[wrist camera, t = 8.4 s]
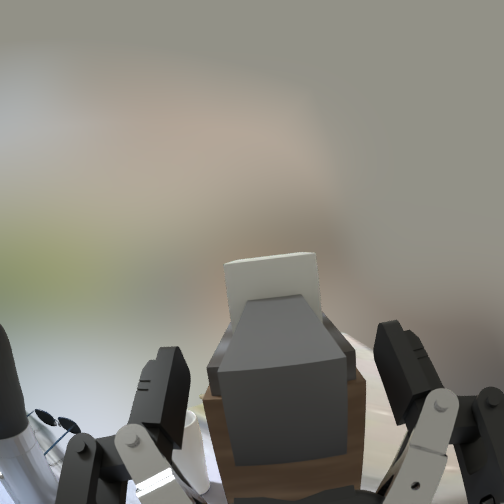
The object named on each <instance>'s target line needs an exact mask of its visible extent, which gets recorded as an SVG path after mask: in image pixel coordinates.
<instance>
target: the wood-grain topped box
mask: <svg viewBox="0 0 504 504" xmlns="http://www.w3.org/2000/svg"><path fill="white" fill-rule="evenodd" d="M322 320H323V325H324V326H325V328H326V329H327V330H328V332H329V333H330V335H331V336H332V337H333V339H334V340H335V342H336V343H337V344H338V346H339V347H340V349H341V350H342V351H343V353H344V354H345V356H346V358H347V394H348V430H347V454H344V455H339V456H334V457H328V458H322V459H315V460H308V461H301V462H293V463H283V464H272V465H258V466H235V462H234V457H233V452H232V448H231V443H230V438H229V433H228V428H227V423H226V418H225V413H224V407H223V402H222V397H221V391H220V385H219V380H218V374H217V371H218V369H219V367H220V364H221V362H222V359H223V357H224V355H225V352H226V350H227V348H228V345H229V343H230V341H231V338H232V336H233V333H232V326H231V322H230V324H229V326H228V328H227V330H226V332H225V334H224V335H223V337H222V339H221V341H220V343H219V345H218V347H217V349H216V351H215V353H214V354H213V356H212V358H211V360H210V362H209V364H208V366H207V373H208V379H209V386H208V389H207V391H206V393H205V395H204V397H203V405H204V410H205V414H206V419H207V423H208V428H209V432H210V436H211V441H212V445H213V449H214V453H215V457H216V461H217V465H218V469H219V473H220V476H221V480H222V484H223V487H224V491H225V495H226V498H227V502H228V504H231V503H234V498H250V497H267V498H274V499H281V500H289V501H296V500H300V499H302V498H305V497H308V496H311V495H313V494H316V493H319V492H321V491H324V490H328V489H334V488H339V487H344V486H349V485H354V489H359V490H360V486H361V476H362V465H363V452H364V436H365V412H366V380H365V379H364V378H363V376H362V375H361V373H360V372H359V371H358V369H357V368H356V353H355V349H354V348H353V347H352V346H351V344H350V343H349V342H348V341H347V340H346V339H345V337H344V336H343V335H342V334H341V333H340V332H339V330H338V329H337V328H336V327H335V326H334V325H333V323H332V322H331V321H330V320H329V319H328V318H327V316H326V315H325V314H324V313H323V312H322Z"/></svg>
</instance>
